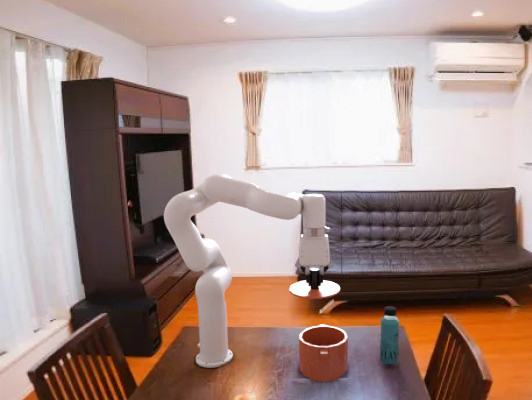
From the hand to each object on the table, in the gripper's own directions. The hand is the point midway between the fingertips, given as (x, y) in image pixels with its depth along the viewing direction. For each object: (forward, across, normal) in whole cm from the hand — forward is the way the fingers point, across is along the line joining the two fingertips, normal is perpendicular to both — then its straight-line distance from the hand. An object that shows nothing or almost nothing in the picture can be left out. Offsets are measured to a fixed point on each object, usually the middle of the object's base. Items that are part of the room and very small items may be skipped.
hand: (314, 284), depth 144 cm
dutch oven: (+28, -3, +4) cm, 28 cm away
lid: (+2, 0, 0) cm, 2 cm away
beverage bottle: (+28, -25, +2) cm, 38 cm away
